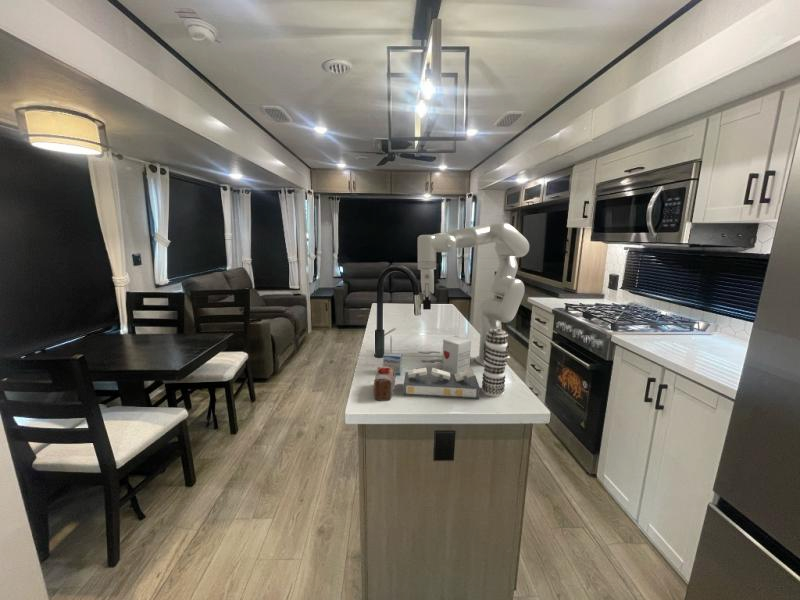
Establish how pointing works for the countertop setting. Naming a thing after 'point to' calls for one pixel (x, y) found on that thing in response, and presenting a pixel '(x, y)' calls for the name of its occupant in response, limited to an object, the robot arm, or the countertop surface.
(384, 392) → the food item
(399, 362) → the medicine box
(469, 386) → the switch unit
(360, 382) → the countertop surface
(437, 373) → the rocker
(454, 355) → the supplement box
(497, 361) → the decorative candle
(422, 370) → the rocker
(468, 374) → the rocker
